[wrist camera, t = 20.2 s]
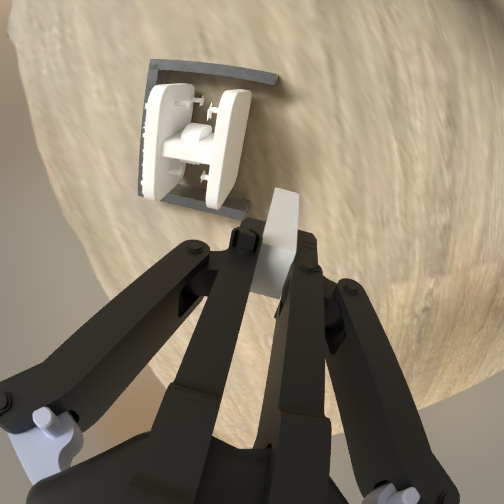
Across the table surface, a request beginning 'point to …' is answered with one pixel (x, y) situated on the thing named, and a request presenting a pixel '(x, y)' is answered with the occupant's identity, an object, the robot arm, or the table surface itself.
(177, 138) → the cable organizer
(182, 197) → the bracket
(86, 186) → the table surface
